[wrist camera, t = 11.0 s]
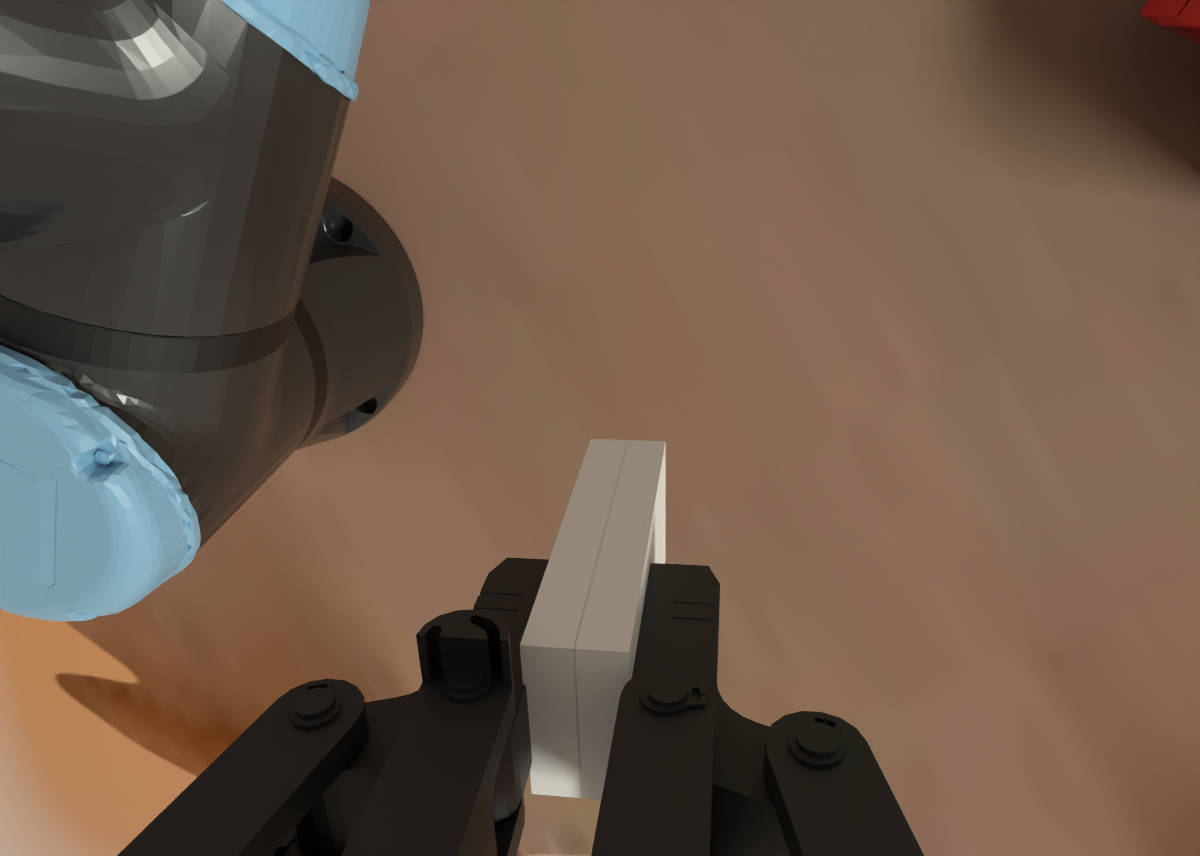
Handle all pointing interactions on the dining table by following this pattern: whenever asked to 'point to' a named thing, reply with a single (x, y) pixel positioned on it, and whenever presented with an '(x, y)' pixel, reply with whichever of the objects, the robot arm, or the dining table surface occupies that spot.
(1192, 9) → the mug
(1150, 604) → the dining table surface
